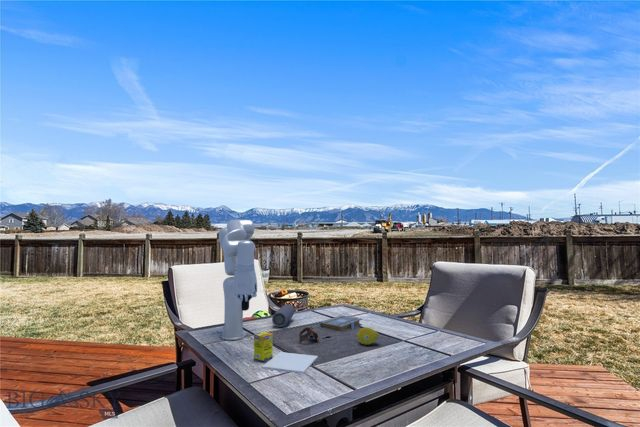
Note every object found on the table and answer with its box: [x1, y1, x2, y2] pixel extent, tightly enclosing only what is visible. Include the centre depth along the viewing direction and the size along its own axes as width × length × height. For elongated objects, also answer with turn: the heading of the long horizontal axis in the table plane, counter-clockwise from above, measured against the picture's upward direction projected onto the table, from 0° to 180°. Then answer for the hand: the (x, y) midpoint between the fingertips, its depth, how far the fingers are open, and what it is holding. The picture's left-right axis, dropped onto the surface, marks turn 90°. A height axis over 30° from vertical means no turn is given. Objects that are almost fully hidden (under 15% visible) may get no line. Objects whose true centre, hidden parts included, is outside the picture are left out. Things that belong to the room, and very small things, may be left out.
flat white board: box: [261, 351, 319, 374], centre depth 147 cm, size 18×18×1 cm
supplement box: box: [253, 331, 274, 363], centre depth 151 cm, size 6×6×11 cm
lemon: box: [356, 327, 380, 346], centre depth 170 cm, size 11×8×8 cm
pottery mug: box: [298, 326, 320, 344], centre depth 176 cm, size 12×10×8 cm
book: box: [318, 315, 363, 334], centre depth 202 cm, size 21×16×5 cm
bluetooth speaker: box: [271, 304, 295, 328], centre depth 210 cm, size 23×9×10 cm, turn 172°
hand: (245, 309), depth 154 cm, fingers closed
